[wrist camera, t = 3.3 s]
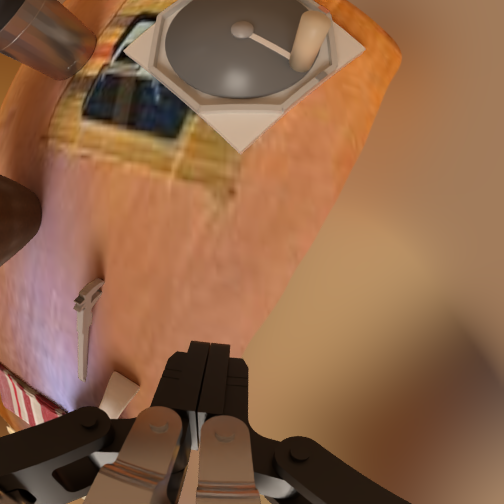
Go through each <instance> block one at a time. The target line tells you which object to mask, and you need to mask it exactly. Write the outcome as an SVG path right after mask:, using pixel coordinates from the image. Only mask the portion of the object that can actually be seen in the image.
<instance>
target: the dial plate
mask: <svg viewBox="0 0 504 504" xmlns="http://www.w3.org/2000/svg"><path fill="white" fill-rule="evenodd" d="M191 1H193V0H177V1H176V2H175V3H173V4H172V5H170V6H169V7H168V8H166V9H165V10H163V11H162V12H161V13H159V14H158V15H159V16H157V19H156V23H155V24H154V25H152V26H151V27H150V28H149V29H147V30H146V31H145V32H144V33H143V34H141V35H140V36H139V37H138V38H137V39H136V40H135V41H133V42H132V43H131V44H130V45H129V46H128V47H127V48H126V49H125V50H124V52H125V53H126V54H127V55H128V56H129V57H130V58H131V59H133V60H134V61H135V62H136V63H138V64H139V65H140V66H141V67H143V68H144V69H145V70H146V71H148V72H149V73H150V74H151V75H152V76H154V77H155V78H156V79H157V80H158V81H160V82H161V83H162V84H163V85H164V86H166V87H167V88H168V89H169V90H170V91H171V92H173V93H174V94H175V95H176V96H177V97H178V98H180V99H181V100H182V101H183V102H184V103H185V104H186V105H188V106H189V107H190V108H191V109H192V110H193V111H194V112H195V113H197V114H198V115H199V116H200V117H201V118H202V119H203V120H204V121H205V122H207V123H208V124H209V125H210V126H211V127H212V128H213V129H214V130H215V131H216V132H217V133H218V134H220V135H221V136H222V137H223V138H224V139H225V140H226V141H227V142H228V143H229V144H230V145H231V146H232V147H233V148H234V149H235V150H236V151H237V152H238V153H240V154H242V153H243V152H244V151H245V150H246V149H247V148H248V147H249V146H251V145H252V144H253V143H254V142H255V141H256V140H257V139H258V138H259V137H260V136H261V135H262V134H264V133H265V132H266V131H267V130H268V129H269V128H270V127H271V126H273V125H274V124H275V123H276V122H277V121H278V120H279V119H280V118H282V117H283V116H284V115H285V114H286V113H287V112H289V111H290V110H291V109H292V108H293V107H294V106H296V105H297V104H298V103H299V102H300V101H302V100H303V99H304V98H305V97H306V96H308V95H309V94H310V93H311V92H313V91H314V90H315V89H316V88H318V87H319V86H320V85H321V84H323V83H324V82H325V81H326V80H328V79H329V78H330V77H331V76H333V75H334V74H335V73H337V72H338V71H339V70H341V69H342V68H343V67H345V66H346V65H347V64H349V63H350V62H351V61H353V60H354V59H355V58H357V57H358V56H360V55H361V54H362V53H363V52H364V51H365V48H364V47H363V46H362V45H361V44H360V43H359V42H358V41H357V40H355V39H354V38H353V37H352V36H351V35H350V34H348V33H347V32H346V31H345V30H344V29H342V28H341V27H340V26H339V25H337V24H336V23H335V22H334V21H332V16H331V14H330V11H329V10H327V9H326V8H325V7H323V6H322V5H321V6H320V5H319V4H318V3H316V2H315V1H313V0H297V1H299V2H300V3H301V4H302V5H304V6H305V7H306V8H307V9H308V10H309V11H319V12H321V13H323V14H325V15H326V16H327V17H328V18H329V19H330V21H331V27H330V29H329V31H328V33H327V35H326V37H325V39H324V41H323V43H322V45H321V48H320V52H319V55H318V57H317V59H316V61H315V63H314V65H313V67H312V68H311V70H310V71H309V72H308V73H307V74H306V75H305V76H304V77H303V78H302V79H301V80H300V81H299V82H297V83H296V84H294V85H293V86H291V87H289V88H287V89H285V90H283V91H281V92H278V93H276V94H272V95H269V96H265V97H259V98H252V99H228V98H221V97H216V96H212V95H209V94H206V93H203V92H201V91H199V90H196V89H194V88H193V87H191V86H190V85H188V84H186V83H185V82H184V81H183V80H182V79H181V78H180V77H179V76H178V75H177V74H176V73H175V71H174V70H173V68H172V66H171V65H170V63H169V61H168V58H167V56H166V51H165V38H166V33H167V31H168V28H169V26H170V24H171V22H172V20H173V19H174V17H175V16H176V15H177V14H178V12H179V11H180V10H181V9H182V8H183V7H185V6H186V5H187V4H188V3H190V2H191Z"/></svg>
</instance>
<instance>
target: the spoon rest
mask: <svg viewBox="0 0 504 504" xmlns="http://www.w3.org/2000/svg"><path fill="white" fill-rule="evenodd" d="M139 389H140V387H139V386H138V385H137V384H135V383H134V382H132V381H130V380H129V379H127V378H126V377H124V376H123V375H121V374H119V373H118V372H115V371H114V372H113V374H112V375H111V378H110V380H109V382H108V385H107V388H106V391H105V393H104V396H103V399H102V401H101V403H100V406H99V408H100V409H102V410H103V411H105V412H106V413H107V414H108V416H109V418H110V419H118V418H119V416H120V414H121V413H122V411H123V410H124V409H125V407H126V406H127V404H128V403H129V402H130V401H131V400H132V398H133V397H134V396H135V395H136V393H137V392H138V391H139Z"/></svg>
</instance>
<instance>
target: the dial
mask: <svg viewBox="0 0 504 504" xmlns="http://www.w3.org/2000/svg"><path fill="white" fill-rule="evenodd" d="M330 27H331V21H330V19H329V18H328V17H327V16H326V15H325V14H323V13H321V12H319V11H309V10H308V9H307V8H306V7H305V6H304V5H302V4H301V3H300V2H299V1H297V0H193V1H191V2H190V3H188V4H187V5H186V6H185V7H183V8H182V9H181V10H180V11H179V12H178V14H177V15H176V16H175V17H174V19H173V20H172V22H171V24H170V26H169V28H168V31H167V33H166V38H165V51H166V56H167V58H168V61H169V63H170V65H171V66H172V68H173V70H174V71H175V73H176V74H177V75H178V76H179V77H180V78H181V79H182V80H183V81H184V82H185V83H186V84H188V85H190V86H191V87H193V88H194V89H196V90H199V91H201V92H203V93H206V94H209V95H212V96H216V97H221V98H228V99H252V98H259V97H265V96H269V95H272V94H276V93H278V92H281V91H283V90H285V89H287V88H289V87H291V86H293V85H294V84H296V83H297V82H299V81H300V80H301V79H302V78H303V77H304V76H305V75H306V74H307V73H308V72H309V71H310V70H311V68H312V67H313V65H314V63H315V61H316V59H317V57H318V55H319V52H320V48H321V45H322V43H323V41H324V39H325V37H326V35H327V33H328V31H329V29H330Z"/></svg>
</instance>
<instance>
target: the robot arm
mask: <svg viewBox="0 0 504 504" xmlns="http://www.w3.org/2000/svg"><path fill="white" fill-rule="evenodd" d="M95 45H96V37H95V35H94V33H93V32H92V31H91V30H89V29H88V28H87V27H86V26H85V25H84V24H83V23H82V22H81V21H80V20H79V19H78V18H77V17H75V16H74V15H73V14H72V13H71V12H70V11H69V10H68V9H66V8H65V7H64V6H63V5H62V4H61V3H60V2H59V1H57V0H0V53H2V54H4V55H6V56H8V57H11V58H13V59H15V60H17V61H19V62H21V63H23V64H25V65H27V66H30V67H32V68H34V69H36V70H38V71H40V72H41V73H43V74H45V75H47V76H49V77H51V78H53V79H55V80H63V79H66V78H69V77H70V76H72V75H74V74H75V73H76V72H78V71H79V70H80V69H81V68H82V67H83V66H84V65H85V63H86V62H87V61H88V60H89V58H90V56H91V55H92V53H93V51H94V48H95ZM229 357H230V345H228V344H217V343H211V345H210V343H207V342H199V341H191V343H190V346H189V349H188V352H187V353H185V352H178V351H177V352H176V353H174V354H173V355H172V356H171V357H170V358H169V359H168V361H167V364H166V366H165V370H164V371H163V374H162V378H161V379H160V382H159V384H158V387H157V390H156V392H155V395H154V398H153V400H152V403H151V406H150V407H149V408H147V409H145V410H143V411H142V412H140V414H139V415H138V416H137V417H136V418H131V419H110V418H109V416H108V414H107V413H106V412H105V411H103V410H102V409H100V408H97V407H91V406H87V407H82V408H79V409H77V410H74V411H72V412H70V413H67V414H65V415H62V416H59V417H57V418H54V419H52V420H49V421H46V422H44V423H41V424H38V425H36V426H33V427H30V428H27V429H24V430H21V431H18V432H15V433H12V434H9V435H6V436H3V437H0V504H67V503H69V502H72V501H74V500H77V499H79V498H81V497H84V496H86V495H87V496H86V498H85V500H84V502H83V504H178V502H179V498H180V495H181V491H182V487H183V484H184V480H185V476H186V473H187V469H188V462H189V457H190V452H191V449H192V450H198V448H199V443H200V452H199V473H198V487H197V492H196V504H261V501H260V496H259V494H262V495H264V496H265V498H266V499H267V500H269V502H271V503H272V504H411V503H409V502H408V501H406V500H404V499H402V498H400V497H398V496H397V495H395V494H393V493H391V492H390V491H388V490H386V489H384V488H383V487H381V486H380V485H378V484H376V483H375V482H373V481H372V480H370V479H368V478H367V477H365V476H364V475H362V474H361V473H359V472H357V471H356V470H355V469H353V468H352V467H350V466H349V465H347V464H346V463H344V462H343V461H342V460H340V459H339V458H337V457H336V456H334V455H333V454H332V453H330V452H329V451H327V450H326V449H325V448H323V447H322V446H321V445H320V444H318V443H317V442H315V441H314V440H312V439H310V438H307V437H302V436H295V437H289V438H286V439H284V440H283V441H281V442H279V441H276V440H272V439H268V438H265V437H263V436H261V435H259V434H257V433H256V432H255V431H254V430H253V429H252V428H251V426H250V424H249V422H248V367H247V365H246V363H245V361H244V360H243V359H241V358H229Z"/></svg>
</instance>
